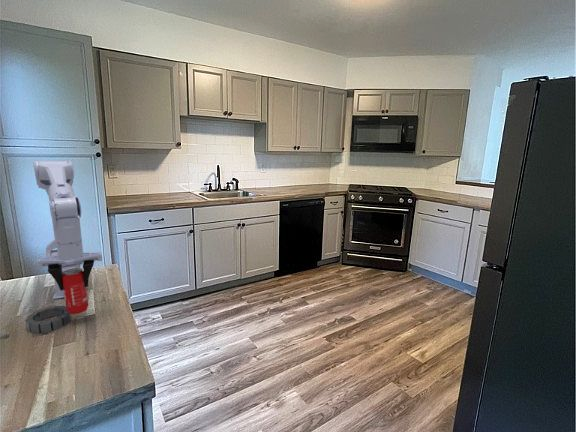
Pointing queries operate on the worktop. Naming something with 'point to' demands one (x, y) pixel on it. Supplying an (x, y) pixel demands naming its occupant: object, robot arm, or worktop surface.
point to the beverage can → (75, 290)
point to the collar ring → (47, 326)
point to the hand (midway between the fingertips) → (74, 287)
